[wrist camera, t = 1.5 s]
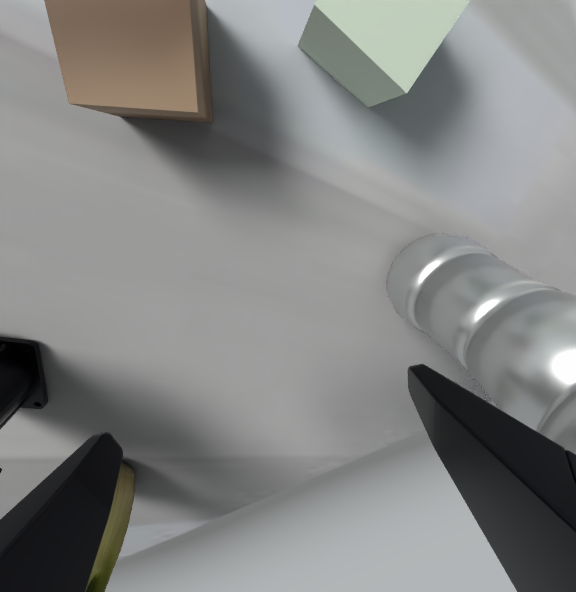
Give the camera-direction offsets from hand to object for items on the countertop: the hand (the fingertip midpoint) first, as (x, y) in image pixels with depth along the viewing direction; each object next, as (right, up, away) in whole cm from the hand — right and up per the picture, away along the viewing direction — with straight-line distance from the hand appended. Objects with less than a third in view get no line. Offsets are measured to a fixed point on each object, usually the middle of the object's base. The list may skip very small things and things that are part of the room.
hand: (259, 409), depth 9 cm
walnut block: (-6, +15, +7) cm, 18 cm away
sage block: (+5, +17, +7) cm, 19 cm away
